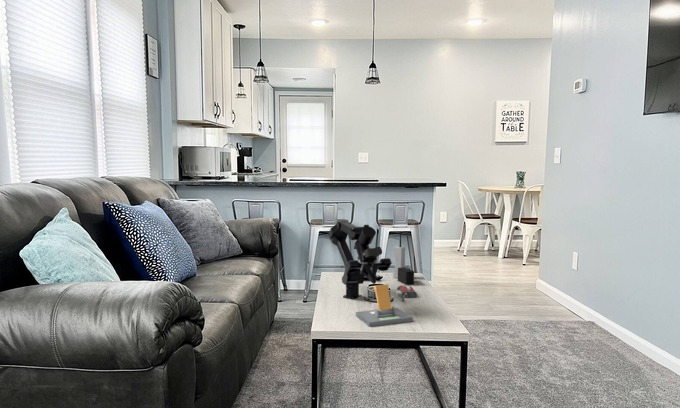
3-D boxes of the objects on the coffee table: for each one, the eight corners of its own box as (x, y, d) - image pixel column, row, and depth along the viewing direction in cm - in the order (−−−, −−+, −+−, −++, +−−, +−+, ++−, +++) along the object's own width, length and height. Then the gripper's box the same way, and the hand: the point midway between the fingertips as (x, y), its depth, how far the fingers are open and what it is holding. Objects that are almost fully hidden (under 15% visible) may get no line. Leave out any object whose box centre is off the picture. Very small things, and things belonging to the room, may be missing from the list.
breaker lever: (378, 315, 170) (373, 286, 174) (391, 314, 172) (386, 285, 176) (380, 315, 168) (375, 285, 172) (393, 313, 170) (388, 284, 174)
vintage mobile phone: (396, 276, 243) (397, 230, 241) (404, 277, 240) (405, 231, 238) (393, 277, 240) (393, 231, 238) (400, 279, 237) (401, 232, 235)
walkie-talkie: (393, 291, 214) (400, 303, 194) (393, 282, 214) (400, 293, 194) (411, 291, 214) (420, 303, 194) (411, 282, 214) (420, 293, 194)
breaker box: (355, 315, 175) (355, 304, 175) (396, 311, 181) (396, 300, 181) (369, 326, 163) (369, 314, 162) (412, 321, 169) (412, 309, 169)
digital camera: (416, 284, 225) (416, 271, 225) (406, 285, 224) (406, 271, 223) (407, 280, 235) (407, 266, 235) (397, 280, 234) (397, 267, 233)
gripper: (348, 241, 180) (358, 273, 170) (390, 239, 186) (402, 270, 177) (341, 257, 188) (350, 289, 178) (381, 254, 194) (392, 285, 185)
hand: (374, 283), depth 179 cm, fingers closed
